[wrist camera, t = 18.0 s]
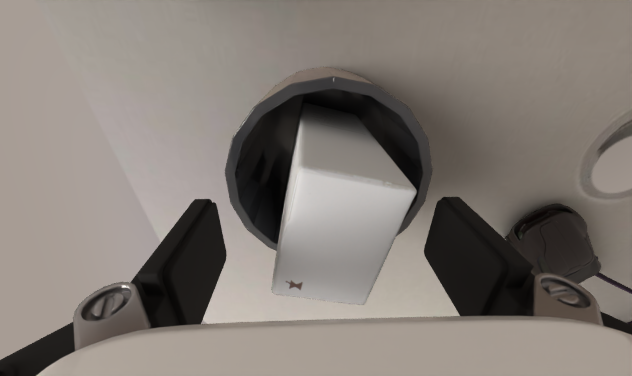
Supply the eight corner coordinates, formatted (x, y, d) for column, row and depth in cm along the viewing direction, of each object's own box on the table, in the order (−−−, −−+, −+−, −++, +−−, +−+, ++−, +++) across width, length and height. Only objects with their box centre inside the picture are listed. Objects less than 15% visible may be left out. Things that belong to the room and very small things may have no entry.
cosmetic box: (337, 182, 21) (364, 310, 11) (288, 173, 21) (266, 297, 10) (358, 111, 19) (423, 191, 8) (302, 98, 18) (292, 165, 7)
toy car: (531, 284, 29) (560, 315, 26) (493, 221, 25) (522, 248, 21) (584, 260, 27) (623, 289, 24) (554, 188, 23) (597, 211, 19)
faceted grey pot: (262, 197, 23) (241, 263, 16) (248, 65, 17) (206, 75, 10) (378, 197, 23) (409, 261, 16) (398, 67, 18) (457, 77, 11)
